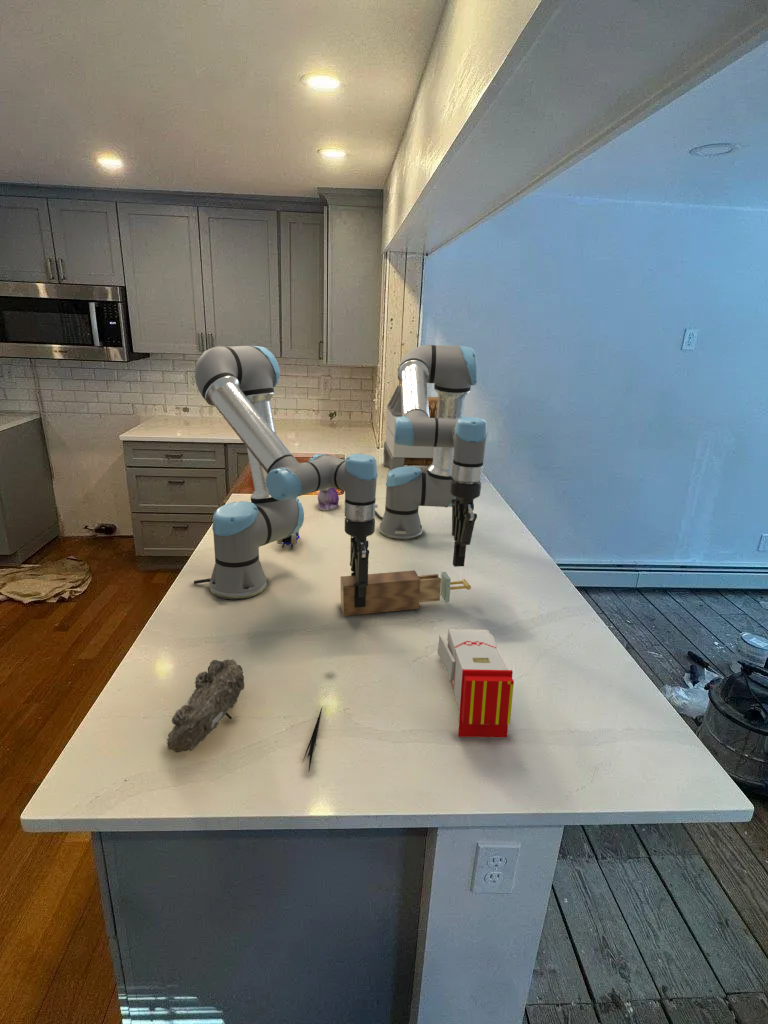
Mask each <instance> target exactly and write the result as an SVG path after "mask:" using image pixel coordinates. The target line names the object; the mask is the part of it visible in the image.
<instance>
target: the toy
mask: <svg viewBox="0 0 768 1024" xmlns="http://www.w3.org/2000/svg"><path fill="white" fill-rule="evenodd" d="M446 640H447V643H446V641H445V639H444V636H443V635H442V634H439V637H438V646H437V656H438V657H439V659H440V661H441V663H442V666H443V668H444V670H445V672H446V674H447V677H448V679H449V681H450V684H451V687H452V690H453V693H454V697H455V701H456V705H457V708H458V711H459V714H458V715H459V716H458V730H457V731H458V732H457V737H458V738H508V731H509V726H510V725H511V717H512V707H513V697H514V696H513V695H514V684H515V680H514V679H513V673H514V671H513V670H512V669H508V667H507V665H506V662H505V661H504V659H503V658H502V655H501V653H500V651H499V649H498V647H497V643H496V639H495V637H494V635H493V634H491V632H490V631H489V629H467V628H466V629H465V628H463V629H461V628H460V629H459V628H448V630H447V639H446Z"/></svg>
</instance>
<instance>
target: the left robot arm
mask: <svg viewBox="0 0 768 1024" xmlns="http://www.w3.org/2000/svg"><path fill="white" fill-rule="evenodd" d="M280 377H281V371H280V366H279V363H278V360H277V358H276V357H275V356H274V354H273V352H272V351H270V350H269V349H268V348H266V347H264V346H259V345H258V346H257V345H252V344H251V345H237V346H235V345H233V346H214V347H210V348H209V349H207V350H205V351H204V352H203V353H202V354H201V355H200V356H199V358H198V359H197V361H196V364H195V367H194V381H195V384H196V387H197V390H198V392H199V393H200V395H201V397H202V399H204V400H205V402H206V404H208V405H209V406H212V407H215V409H216V410H217V411H218V412H219V413H220V415H221V416H222V417H223V418H224V420H225V421H226V422H227V423H228V425H229V426H230V427H231V429H232V430H233V431H234V433H235V434H236V435H237V437H238V438H239V439H240V440H241V442H242V443H243V444H244V446H245V447H246V451H247V457H248V462H249V467H250V474H251V477H252V483H253V489H254V491H253V492H252V494H251V495H250V501H246V500H242V501H241V500H240V501H233V502H229V503H226V504H223V505H221V506H220V507H218V508H217V509H216V510H215V511H214V513H213V516H212V526H211V527H212V528H211V529H212V532H213V549H214V566H213V569H212V572H211V577H210V578H202V579H197V580H196V579H195V580H194V581H193V584H194V585H199V584H206V583H209V590H210V591H209V592H210V593H211V594H212V595H214V596H215V597H218V598H221V599H225V600H244V599H250V598H253V597H254V596H258V595H260V594H261V593H262V592H264V591H265V589H266V588H267V575H266V574H265V571H264V569H263V566H262V563H261V562H260V548H261V547H263V546H266V545H268V544H271V543H272V544H273V543H275V542H277V540H280V539H285V538H287V537H289V536H291V535H293V534H295V533H297V532H298V531H299V532H300V530H301V528H302V526H303V524H304V520H305V510H304V506H303V504H302V502H301V501H300V499H299V498H298V497H301V496H304V495H307V494H311V493H316V492H319V491H320V490H323V489H326V488H334V489H335V490H339V491H343V492H344V517H345V518H344V532H345V534H347V535H348V536H350V555H349V566H350V571H351V574H350V576H353V575H356V583H353V586H355V608H357V607H365V603H366V586H368V574H369V558H370V550H369V549H368V548H369V540H368V539H367V538H368V537H370V536H372V535H373V534H375V531H376V519H375V517H376V515H375V511H376V509H377V508H378V507H379V506H378V504H377V503H376V500H377V499H376V496H377V495H376V494H377V482H378V481H377V479H378V471H377V470H378V469H377V468H378V467H377V459H376V458H375V457H374V456H372V455H371V454H367V453H366V454H363V453H352V454H349V455H348V456H346V457H345V459H343V458H340V457H337V456H333V455H330V454H323V453H315V454H314V455H313V456H312V457H310V458H309V459H308V461H304V462H299V461H298V460H297V458H296V457H295V456H294V455H293V454H292V452H291V451H290V450H289V449H288V447H287V446H286V445H285V443H284V442H283V441H282V440H281V438H280V437H279V436H278V434H277V433H276V426H275V420H274V415H273V410H272V403H271V400H272V398H273V397H274V395H275V389H274V388H275V387H276V386H277V385H278V383H279V381H280V380H279V379H280Z"/></svg>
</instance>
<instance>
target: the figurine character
mask: <svg viewBox="0 0 768 1024" xmlns="http://www.w3.org/2000/svg"><path fill="white" fill-rule="evenodd" d="M299 532H300V530H299V531H298V532H297V533H295V534H293V535H291V536H289V537H287V538H285V539H280V540H277V541H276V545H281V549H285V547H286V546H290V550H292V549H293V548H294V545H296V544H297V543H298V540H299V539H300V538H301V535H300V533H299ZM285 545H286V546H285Z"/></svg>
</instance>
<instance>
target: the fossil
mask: <svg viewBox="0 0 768 1024" xmlns="http://www.w3.org/2000/svg"><path fill="white" fill-rule="evenodd" d="M243 670H244V669H243V667H242V665H240V664H237V662H236V661H235V660H234V659H232V658H231V659H227V658H226V659H224V660H223V661H222V660H217V659H212V660H211V661H210V663H209V665H208V666H207V671H201V672H199V673H198V674H197V675H196V676H195V680H194V684H195V685H194V687H195V689H194V690H193V693H192V694H191V697H190V698H189V700H188V704H184V705H182V706H181V707H180V709H177V710H176V711H175V713H174V715H173V716H172V718H171V723H172V724H173V727H172V730H171V731H170V732H168V734H167V738H166V741H167V742H166V745H167V749H168V750H169V751H173V752H174V753H176V754H178V753H182V752H188V751H189V752H192V751H193V750H195V748H196V747H197V746H199V744H200V743H201V742H203V741H204V740H205V739H206V738H207V737H208V736H209V735H210V734H211V733H212V732H214V730H215V729H217V727H218V726H219V724H220V722H221V721H222V720H223V719H224V718H225V716H226V717H227V719H229V720H233V717H232V715H230V714H229V710H230V709H231V708H234V706H235V704H236V703H237V702H238V699H239V697H240V695H241V693H242V691H243V690H245V689H244V688H245V675H244V671H243Z"/></svg>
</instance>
